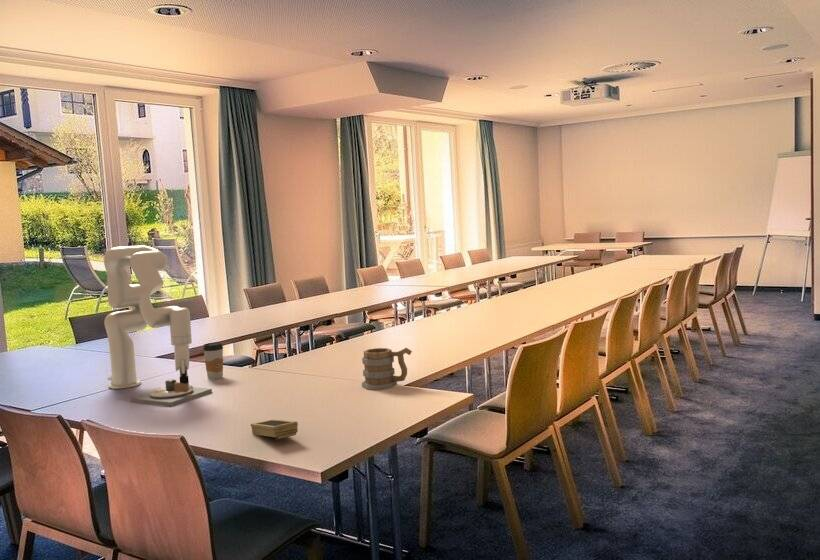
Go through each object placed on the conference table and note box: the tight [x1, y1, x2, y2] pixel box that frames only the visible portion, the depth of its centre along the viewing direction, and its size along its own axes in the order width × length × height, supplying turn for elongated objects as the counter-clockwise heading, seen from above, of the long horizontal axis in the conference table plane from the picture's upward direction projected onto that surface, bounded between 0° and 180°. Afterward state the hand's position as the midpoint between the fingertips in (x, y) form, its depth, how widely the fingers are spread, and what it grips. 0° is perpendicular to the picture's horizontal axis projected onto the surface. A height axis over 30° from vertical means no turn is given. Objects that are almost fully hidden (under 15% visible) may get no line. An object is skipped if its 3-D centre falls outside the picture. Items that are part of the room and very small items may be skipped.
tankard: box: [361, 347, 413, 391], centre depth 267 cm, size 20×13×15 cm, turn 71°
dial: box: [149, 379, 194, 398], centre depth 267 cm, size 16×16×5 cm
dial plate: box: [130, 386, 213, 407], centre depth 267 cm, size 21×21×2 cm
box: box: [250, 419, 299, 441], centre depth 210 cm, size 8×22×5 cm, turn 36°
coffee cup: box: [202, 341, 224, 381], centre depth 297 cm, size 8×8×15 cm
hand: (184, 386), depth 268 cm, fingers closed
